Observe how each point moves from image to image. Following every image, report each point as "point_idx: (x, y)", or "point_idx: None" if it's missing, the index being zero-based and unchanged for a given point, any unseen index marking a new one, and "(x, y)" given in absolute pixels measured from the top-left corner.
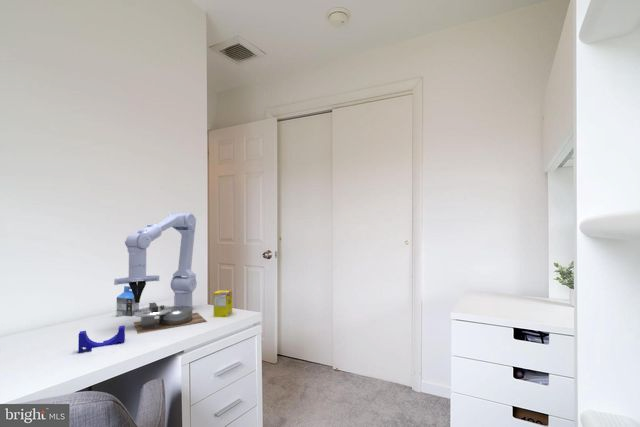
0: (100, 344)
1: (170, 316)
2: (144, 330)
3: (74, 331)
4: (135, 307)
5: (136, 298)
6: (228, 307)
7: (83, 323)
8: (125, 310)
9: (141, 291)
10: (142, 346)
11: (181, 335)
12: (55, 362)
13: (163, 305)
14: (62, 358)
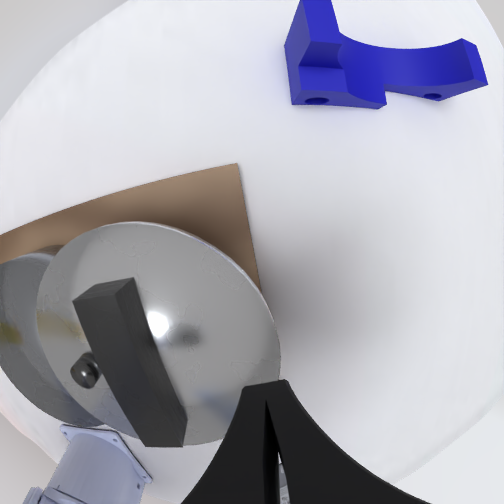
0: (384, 61)
1: (48, 262)
2: (203, 214)
3: (462, 355)
4: (282, 496)
5: (281, 410)
6: None
7: (428, 427)
8: None
9: (206, 491)
10: (202, 16)
11: (47, 115)
12: (453, 35)
13: (78, 384)
14: None
